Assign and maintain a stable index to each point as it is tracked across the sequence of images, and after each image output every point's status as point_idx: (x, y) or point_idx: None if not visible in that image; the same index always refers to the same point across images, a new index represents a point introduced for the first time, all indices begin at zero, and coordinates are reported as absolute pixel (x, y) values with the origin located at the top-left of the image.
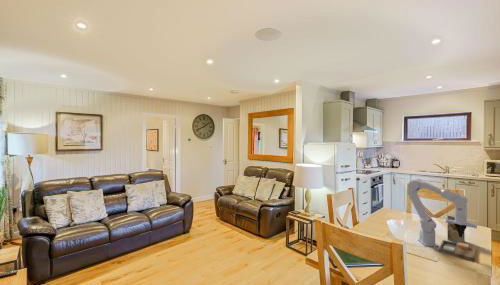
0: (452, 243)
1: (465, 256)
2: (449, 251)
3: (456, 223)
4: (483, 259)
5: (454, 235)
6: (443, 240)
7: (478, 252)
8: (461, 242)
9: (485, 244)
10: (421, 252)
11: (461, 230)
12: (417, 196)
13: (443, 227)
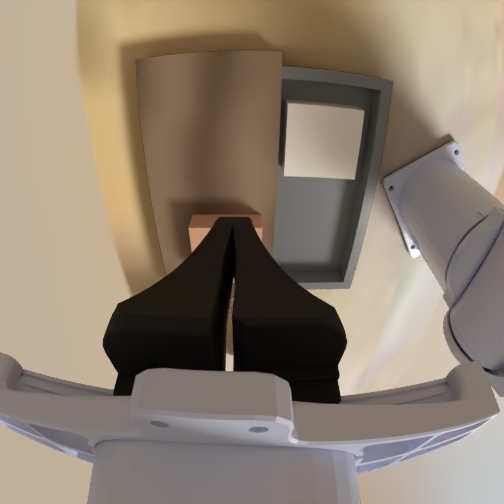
0: (293, 277)
1: (195, 53)
2: (318, 69)
3: (331, 407)
4: (107, 156)
5: None
6: (346, 280)
7: (153, 256)
8: None
9: None
10: (468, 5)
11: (208, 275)
12: None
13: None
